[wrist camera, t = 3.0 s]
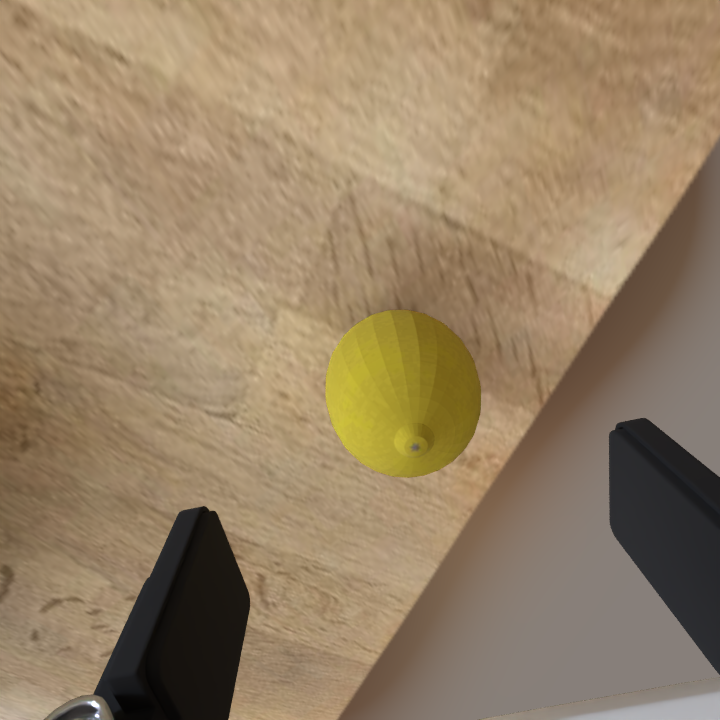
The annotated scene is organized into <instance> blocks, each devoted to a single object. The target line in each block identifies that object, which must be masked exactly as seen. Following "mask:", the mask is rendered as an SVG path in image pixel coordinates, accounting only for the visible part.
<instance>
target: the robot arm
mask: <svg viewBox="0 0 720 720" xmlns="http://www.w3.org/2000/svg"><path fill="white" fill-rule="evenodd" d="M609 486H610V487H609V495H610V525H611V529H612V532H613V534H614V536H615V537H616V539H617V540H618V541H619V543H620V544H621V545H622V547H623V548H624V549H625V551H626V552H627V553H628V555H629V556H630V557H631V559H632V560H633V561H634V563H635V564H636V565H637V567H638V568H639V569H640V571H641V572H642V573H643V574H644V576H645V577H646V579H647V580H648V581H649V582H650V584H651V585H652V586H653V588H654V589H655V590H656V592H657V593H658V594H659V596H660V597H661V598H662V600H663V601H664V602H665V604H666V605H667V606H668V608H669V609H670V610H671V612H672V613H673V614H674V616H675V617H676V618H677V619H678V621H679V622H680V623H681V625H682V626H683V627H684V629H685V630H686V631H687V633H688V634H689V635H690V637H691V638H692V639H693V641H694V642H695V643H696V645H697V646H698V647H699V649H700V650H701V651H702V653H703V654H704V655H705V657H706V658H707V659H708V661H709V662H710V663H711V665H712V666H713V667H714V668H715V670H716V671H717V672H718V673H719V674H720V477H718V476H717V475H716V474H715V473H713V472H712V471H711V470H710V469H708V468H707V467H706V466H705V465H704V464H702V463H701V462H700V461H699V460H697V459H696V458H695V457H694V456H692V455H691V454H690V453H689V452H687V451H686V450H685V449H684V448H683V447H681V446H680V445H679V444H678V443H676V442H675V441H674V440H673V439H671V438H670V437H669V436H668V435H666V434H665V433H664V432H663V431H662V430H660V429H659V428H658V427H657V426H655V425H654V424H653V423H652V422H650V421H649V420H647V419H646V418H640V419H635V420H630V421H625V422H620V423H618V424H617V425H616V428H615V430H613V431H611V432H610V434H609ZM249 610H250V597H249V592H248V589H247V587H246V584H245V582H244V579H243V577H242V574H241V572H240V569H239V567H238V564H237V562H236V559H235V557H234V554H233V552H232V550H231V547H230V545H229V542H228V540H227V537H226V535H225V532H224V530H223V527H222V525H221V522H220V520H219V517H218V515H217V513H216V512H215V511H209V509H208V508H207V507H205V506H203V507H198V508H193V509H188V510H183V511H181V512H179V514H178V516H177V518H176V520H175V522H174V524H173V527H172V529H171V531H170V533H169V536H168V538H167V540H166V542H165V544H164V547H163V549H162V551H161V553H160V555H159V558H158V560H157V562H156V564H155V567H154V569H153V571H152V573H151V575H150V577H149V578H148V579H147V580H146V582H145V583H144V585H143V587H142V589H141V591H140V594H139V596H138V598H137V600H136V602H135V605H134V607H133V609H132V611H131V613H130V615H129V618H128V620H127V622H126V624H125V626H124V629H123V631H122V633H121V635H120V637H119V639H118V642H117V644H116V646H115V648H114V650H113V653H112V655H111V657H110V659H109V661H108V663H107V666H106V668H105V670H104V672H103V674H102V677H101V679H100V681H99V683H98V685H97V687H96V690H95V692H94V694H93V695H84V696H80V697H77V698H75V699H72V700H70V701H68V702H66V703H65V704H63V705H61V706H60V707H58V708H57V709H55V710H54V711H53V712H52V713H51V714H49V715H48V716H47V717H46V718H45V719H44V720H228V718H229V713H230V708H231V703H232V698H233V692H234V687H235V682H236V677H237V672H238V667H239V661H240V656H241V651H242V646H243V641H244V636H245V630H246V625H247V620H248V615H249ZM479 720H720V677H719V678H712V679H706V680H700V681H693V682H687V683H681V684H675V685H669V686H664V687H658V688H652V689H647V690H642V691H636V692H631V693H624V694H619V695H613V696H607V697H602V698H596V699H590V700H584V701H579V702H573V703H568V704H562V705H557V706H551V707H545V708H540V709H534V710H528V711H523V712H518V713H512V714H507V715H501V716H496V717H490V718H485V719H479Z"/></svg>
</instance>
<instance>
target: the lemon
mask: <svg viewBox="0 0 720 720" xmlns="http://www.w3.org/2000/svg"><path fill="white" fill-rule="evenodd" d="M326 404H327V408H328V411H329V415H330V419H331V422H332V425H333V427H334V430H335V431H336V433H337V435H338V436H339V438H340V440H341V441H342V443H343V445H344V446H345V448H346V449H347V450H348V451H349V452H350V453H351V454H352V455H353V456H354V457H355V458H356V459H358V460H359V461H360V462H361V463H362V464H364V465H366V466H367V467H369V468H371V469H373V470H374V471H377V472H379V473H383V474H386V475H390V476H393V477H407V478H409V477H417V476H424V475H427V474H430V473H432V472H435V471H438V470H440V469H441V468H443V467H445V466H446V465H448V464H449V463H451V462H453V461H454V460H455V459H456V458H457V457H458V456H459V455H460V454H461V453H462V452H463V451H464V449H465V448H466V447H467V445H468V443H469V442H470V440H471V438H472V437H473V435H474V433H475V430H476V426H477V423H478V420H479V416H480V410H481V386H480V381H479V377H478V374H477V370H476V367H475V363H474V360H473V358H472V356H471V355H470V353H469V352H468V350H467V348H466V347H465V345H464V344H463V342H462V340H461V339H460V338H459V337H458V336H457V335H456V334H455V333H454V332H453V331H451V330H450V329H449V328H448V327H447V326H446V325H445V324H444V323H442V322H440V321H438V320H436V319H434V318H432V317H430V316H428V315H427V314H424V313H419V312H415V311H410V310H388V311H384V312H380V313H377V314H373V315H371V316H369V317H367V318H366V319H364V320H362V321H360V322H359V323H357V324H356V325H355V326H354V327H353V328H352V329H350V330H349V331H348V332H347V333H346V334H345V335H344V336H343V338H342V339H341V341H340V342H339V344H338V346H337V347H336V349H335V350H334V352H333V354H332V357H331V360H330V363H329V367H328V370H327V373H326Z"/></svg>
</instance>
